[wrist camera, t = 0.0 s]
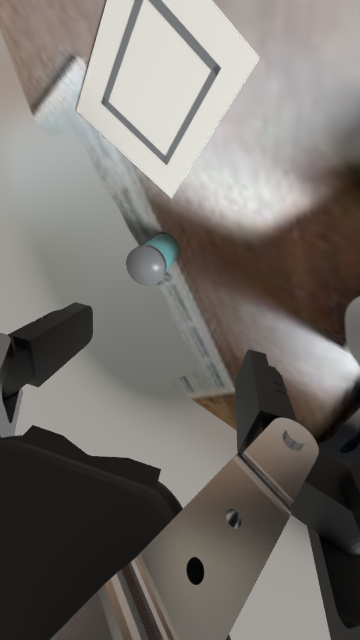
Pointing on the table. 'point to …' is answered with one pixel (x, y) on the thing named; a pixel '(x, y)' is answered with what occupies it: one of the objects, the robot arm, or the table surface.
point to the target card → (163, 81)
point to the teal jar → (152, 259)
